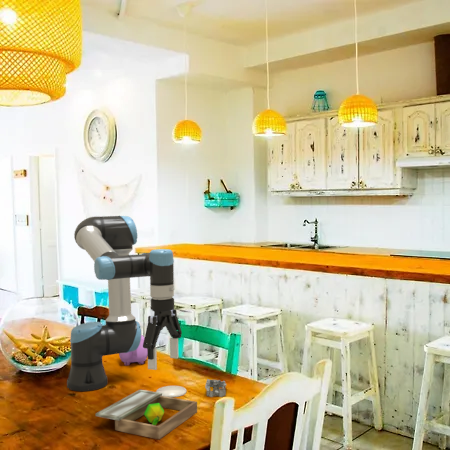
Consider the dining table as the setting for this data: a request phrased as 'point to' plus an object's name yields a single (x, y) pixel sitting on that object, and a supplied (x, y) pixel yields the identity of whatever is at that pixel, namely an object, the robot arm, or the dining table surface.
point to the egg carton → (215, 388)
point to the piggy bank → (135, 354)
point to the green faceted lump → (154, 413)
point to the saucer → (172, 391)
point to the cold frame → (136, 407)
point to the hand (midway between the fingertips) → (163, 363)
